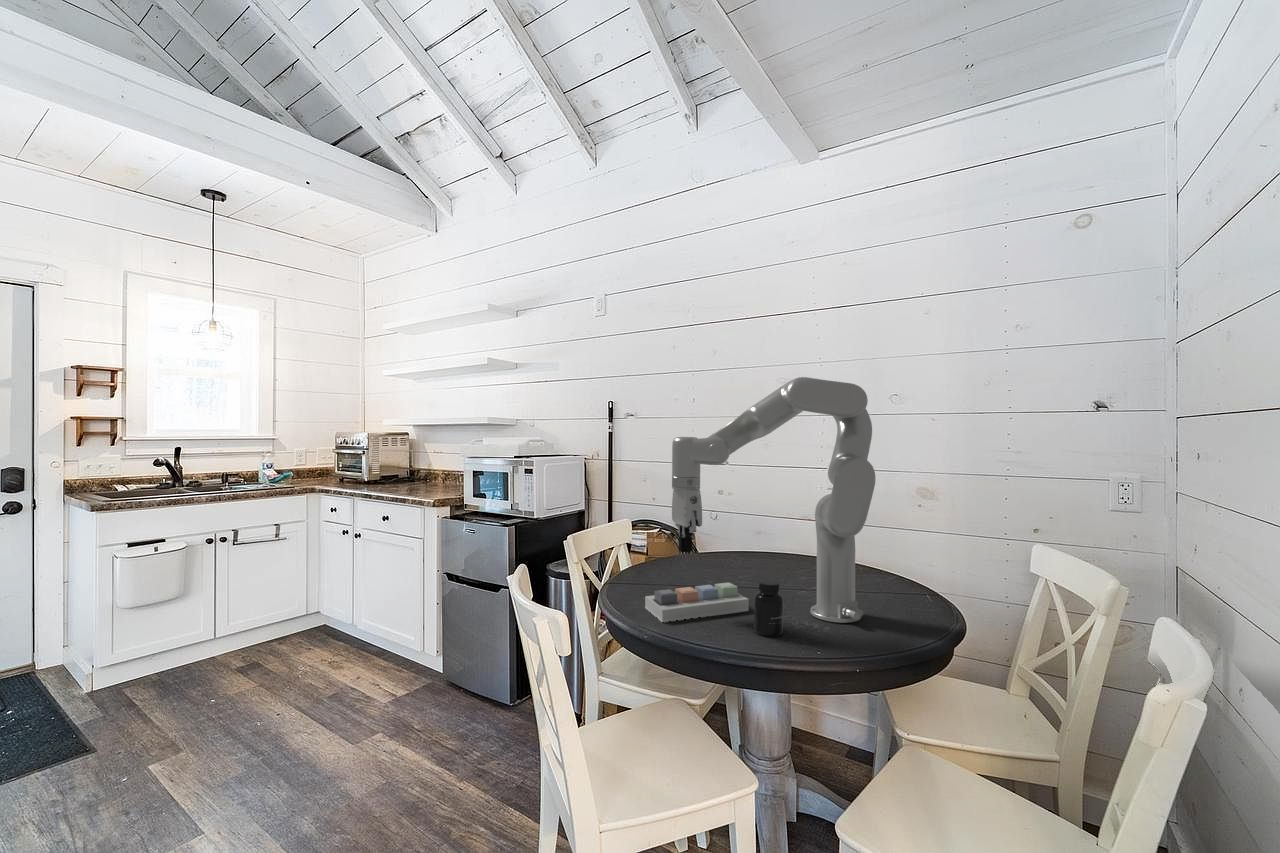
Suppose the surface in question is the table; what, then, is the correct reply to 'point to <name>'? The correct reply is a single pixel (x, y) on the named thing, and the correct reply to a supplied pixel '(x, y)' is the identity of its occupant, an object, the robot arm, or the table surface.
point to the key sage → (726, 590)
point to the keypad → (697, 608)
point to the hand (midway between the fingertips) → (685, 551)
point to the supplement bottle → (768, 609)
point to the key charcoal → (665, 597)
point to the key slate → (707, 592)
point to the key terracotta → (686, 594)
